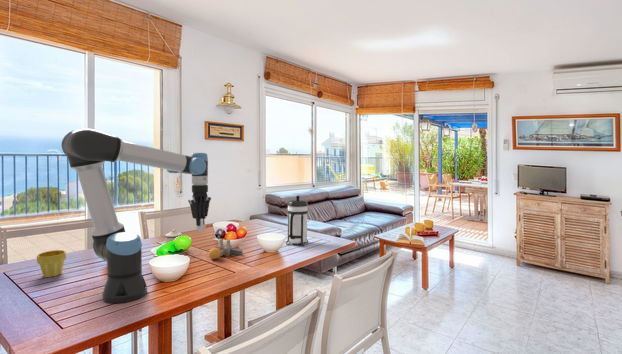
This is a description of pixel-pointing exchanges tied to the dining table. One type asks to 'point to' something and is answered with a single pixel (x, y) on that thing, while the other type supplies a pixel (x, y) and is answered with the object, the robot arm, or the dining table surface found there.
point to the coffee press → (297, 221)
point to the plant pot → (51, 262)
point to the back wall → (235, 251)
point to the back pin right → (227, 248)
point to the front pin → (223, 251)
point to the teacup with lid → (172, 236)
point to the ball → (214, 253)
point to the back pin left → (220, 244)
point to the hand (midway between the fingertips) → (200, 231)
